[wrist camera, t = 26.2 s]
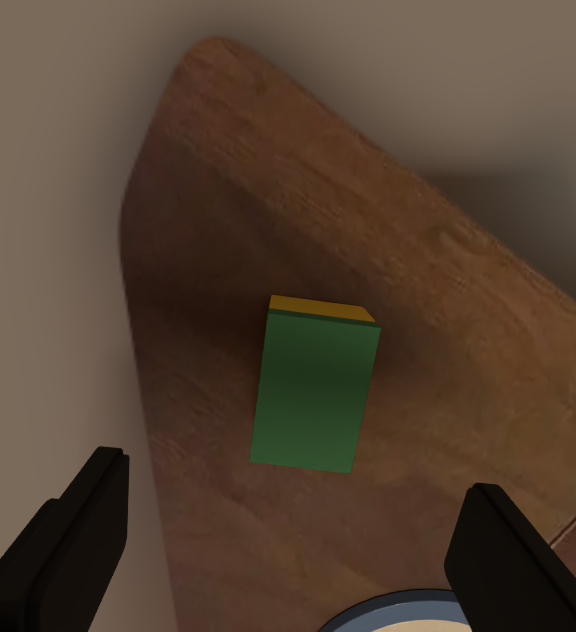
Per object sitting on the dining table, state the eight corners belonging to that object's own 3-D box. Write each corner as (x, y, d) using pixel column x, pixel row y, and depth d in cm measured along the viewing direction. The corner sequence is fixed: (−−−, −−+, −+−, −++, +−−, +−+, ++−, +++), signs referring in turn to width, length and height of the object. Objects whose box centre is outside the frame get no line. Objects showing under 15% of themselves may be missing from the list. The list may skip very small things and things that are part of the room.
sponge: (339, 428, 22) (350, 473, 18) (255, 418, 22) (249, 462, 18) (363, 306, 20) (381, 328, 16) (271, 294, 20) (267, 313, 16)
